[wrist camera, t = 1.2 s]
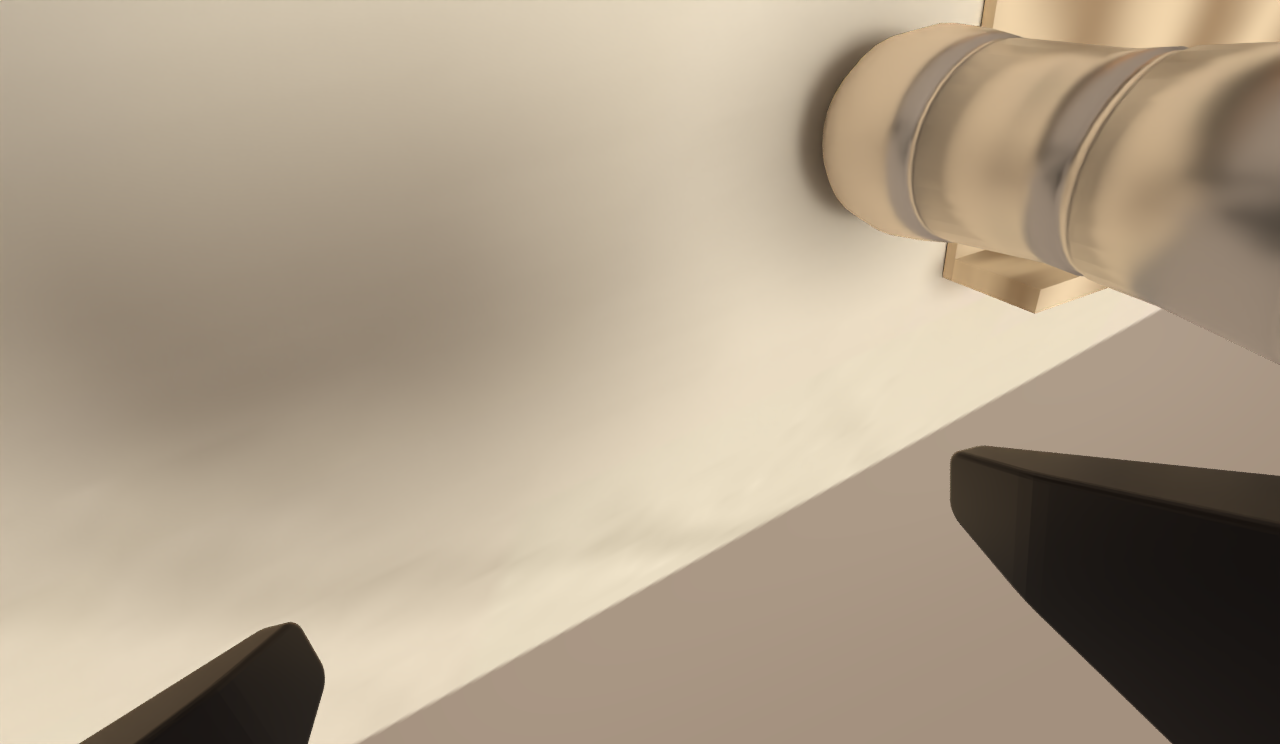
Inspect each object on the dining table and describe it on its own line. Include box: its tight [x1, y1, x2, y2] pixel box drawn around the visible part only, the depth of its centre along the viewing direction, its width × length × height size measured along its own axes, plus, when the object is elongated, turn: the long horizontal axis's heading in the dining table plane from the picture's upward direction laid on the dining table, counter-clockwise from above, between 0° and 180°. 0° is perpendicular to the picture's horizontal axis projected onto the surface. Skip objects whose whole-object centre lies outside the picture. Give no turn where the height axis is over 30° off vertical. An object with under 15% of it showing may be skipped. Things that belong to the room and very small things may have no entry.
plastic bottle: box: [822, 23, 1280, 365], centre depth 13 cm, size 6×7×20 cm
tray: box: [943, 0, 1280, 314], centre depth 24 cm, size 23×14×4 cm, turn 98°
